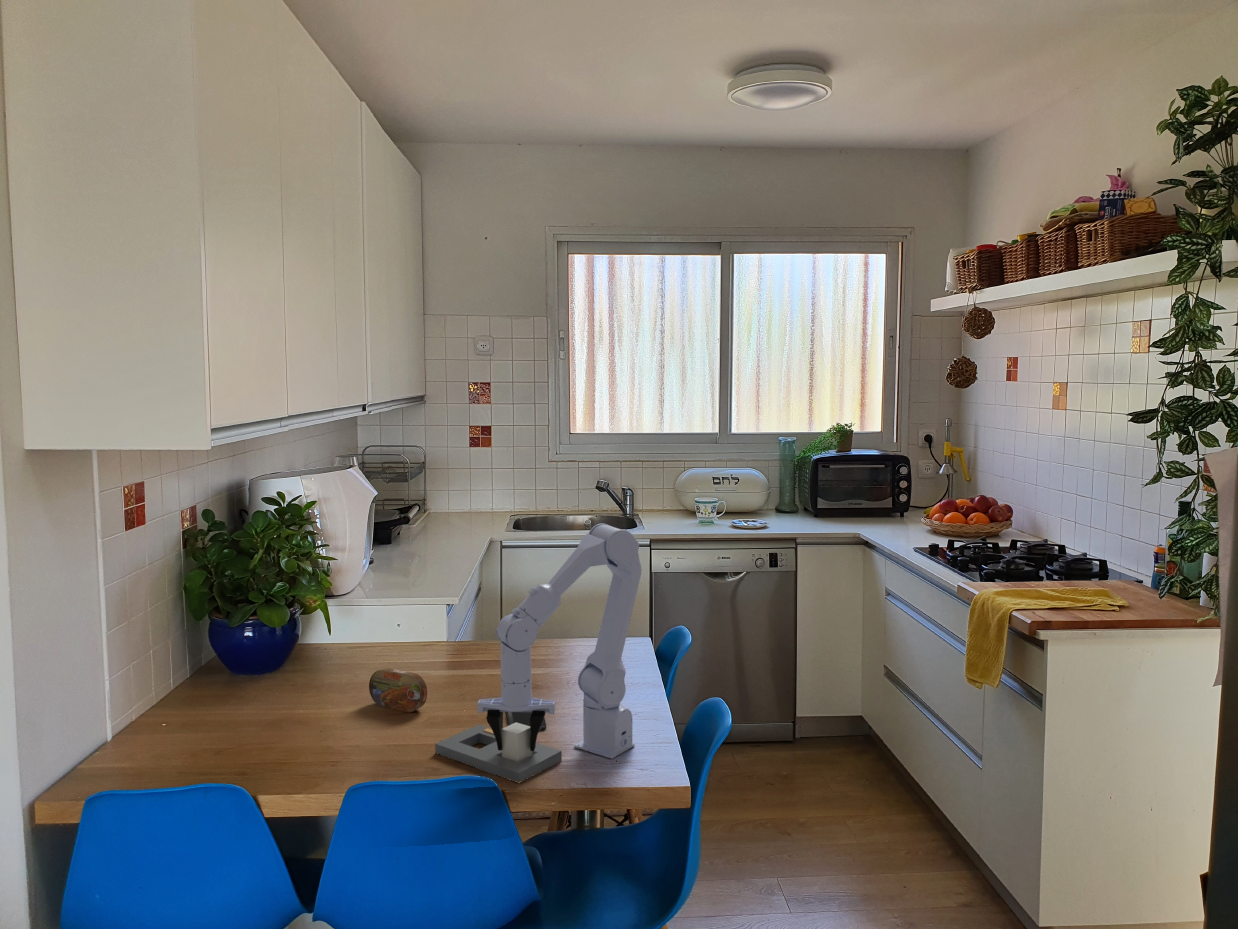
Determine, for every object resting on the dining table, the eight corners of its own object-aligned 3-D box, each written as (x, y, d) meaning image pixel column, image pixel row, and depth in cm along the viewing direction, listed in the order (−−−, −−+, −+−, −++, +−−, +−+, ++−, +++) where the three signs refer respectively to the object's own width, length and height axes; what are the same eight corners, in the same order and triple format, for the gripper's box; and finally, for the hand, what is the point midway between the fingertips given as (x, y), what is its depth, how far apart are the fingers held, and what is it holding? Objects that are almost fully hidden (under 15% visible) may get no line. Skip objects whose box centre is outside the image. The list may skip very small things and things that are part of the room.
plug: (532, 762, 169) (531, 727, 168) (517, 770, 166) (517, 733, 165) (516, 757, 171) (516, 722, 170) (502, 764, 168) (501, 728, 167)
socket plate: (561, 760, 170) (561, 749, 169) (519, 783, 160) (518, 772, 160) (479, 733, 182) (479, 723, 182) (435, 753, 173) (435, 742, 173)
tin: (368, 704, 199) (367, 667, 198) (378, 699, 202) (377, 663, 201) (420, 716, 192) (419, 678, 191) (430, 711, 195) (429, 674, 194)
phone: (509, 729, 183) (505, 703, 198) (509, 735, 183) (505, 708, 198) (547, 727, 184) (540, 701, 199) (547, 732, 184) (540, 706, 199)
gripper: (557, 672, 170) (557, 740, 172) (482, 671, 171) (483, 739, 172) (552, 685, 163) (553, 756, 165) (474, 683, 164) (475, 754, 165)
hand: (516, 748), depth 168 cm, fingers closed on plug, 5 cm apart
